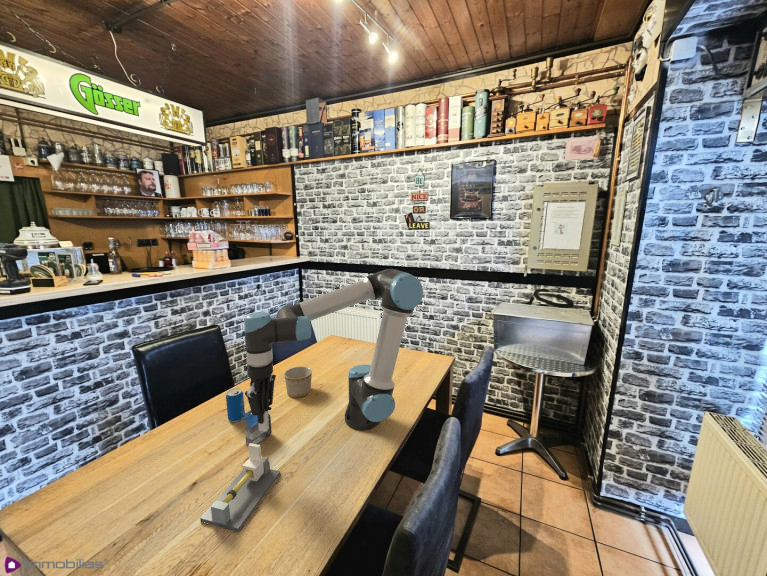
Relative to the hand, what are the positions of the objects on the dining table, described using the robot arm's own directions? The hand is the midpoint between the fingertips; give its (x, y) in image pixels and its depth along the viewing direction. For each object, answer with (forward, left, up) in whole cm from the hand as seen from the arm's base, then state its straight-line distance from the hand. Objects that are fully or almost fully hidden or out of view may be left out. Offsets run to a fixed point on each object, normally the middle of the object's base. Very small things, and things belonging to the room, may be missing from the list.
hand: (263, 429), depth 102 cm
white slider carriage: (0, +7, -11) cm, 13 cm away
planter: (+13, -45, -14) cm, 49 cm away
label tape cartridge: (+11, -11, -14) cm, 21 cm away
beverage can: (+28, -20, -14) cm, 37 cm away
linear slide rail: (0, +12, -14) cm, 18 cm away
